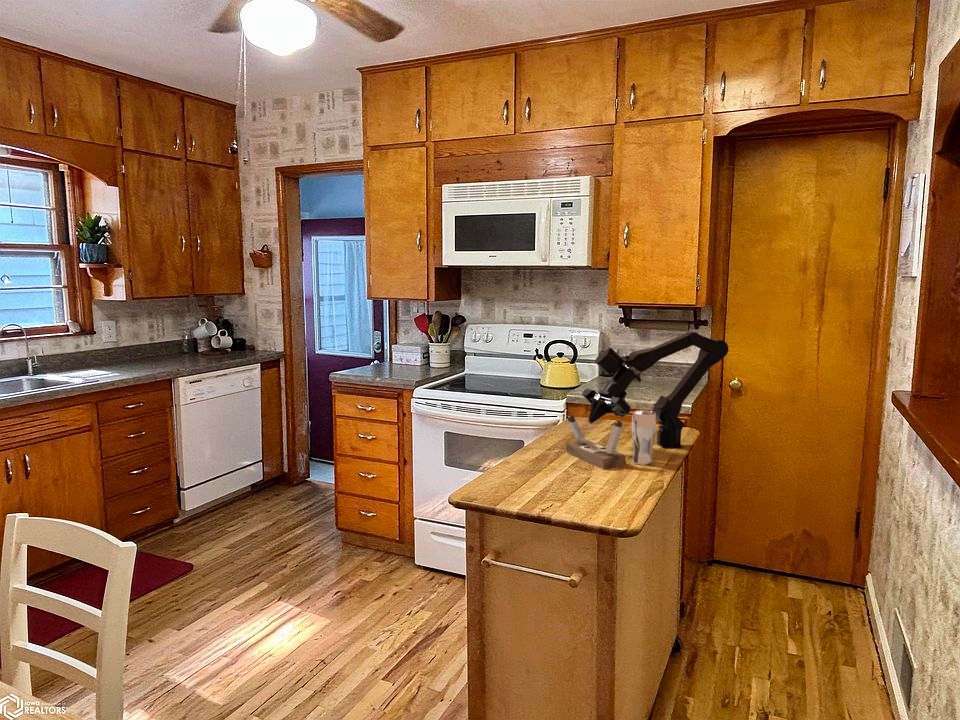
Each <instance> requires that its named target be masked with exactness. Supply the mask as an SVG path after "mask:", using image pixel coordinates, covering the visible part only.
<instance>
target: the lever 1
mask: <svg viewBox="0 0 960 720" xmlns="http://www.w3.org/2000/svg"><path fill="white" fill-rule="evenodd" d="M567 422H568V424H569V427H570V429H571V430H572V431H571V432H572V434H573V435H574V438H575V440H576V442H579V443H581V444H583V443H584V442H586V438H585V437H584V434H583V433H582V430H581V428H580V425H579V424H578V421H577V419H576V418H575V416H574V415H571V414H570V415H568V416H567Z"/></svg>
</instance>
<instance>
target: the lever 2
mask: <svg viewBox="0 0 960 720" xmlns="http://www.w3.org/2000/svg"><path fill="white" fill-rule="evenodd" d="M622 431H623V422H622V421H621V420H615V422H614V425H612V427H611V431H610V434H609V437H608V440H607V443H606V449H605V452H608V453H610V454H614V453H615V451H616V450H617V446H618V443H619V440H620V437H621V433H622Z"/></svg>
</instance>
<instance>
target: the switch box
mask: <svg viewBox="0 0 960 720" xmlns="http://www.w3.org/2000/svg"><path fill="white" fill-rule="evenodd" d="M585 441H586V442H584V443H583V444H581V443H579V442H577V441H572V442H566V447H565V453H566V452H567V454H568V453H569V454H568V455H570V454H571V455H570V456H572V457H575V456H576V457H575V458H577V457H578V458H577V459H579V458H580V459H579V460H582V461H584V462H586V463H589V464H590V465H593V466H595V467H598V468H600V469H602V470H606V469H610V468H611V469H612V468H619V467H625V466H626V465H627V464H626V463H627V462H626V461H627V460H626V459H627V455H626V454H624V453H622V452H621V453H620V452H618V451H616V450H615V453H614V454H610V453H608V452H605V449H606V447H605V446H603V445H601V444H598V443H596V442H593V441H591V440H589V439H588V440H586V439H585Z"/></svg>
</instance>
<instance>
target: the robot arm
mask: <svg viewBox="0 0 960 720" xmlns="http://www.w3.org/2000/svg"><path fill="white" fill-rule="evenodd" d="M692 346H694V347H696V348H699V351H698V355H697V358H696V360H695V362H694V363H693V365H691V367H690V368H689V369H688V371H687V372H686V373H685V375H683V377H682V378H681V380H680V381H679V383H677V385H676V386H675V387H674V389H673V390H672V391H671V393H670V394H669V395H667V396H664V395H662V394H661V395H660V396H659V398H658V399H657V401H656V402H655V403H654V404H653V405H652V406H653V408H652V411H653V412H655V413H656V422H657V423H658V424H659V426H658V430H656V435H657V436H656V444H657V445H659V446H660V447H661V448H663V449H675V448H676V449H677V448H683V447H684V446H683V445H682V444H681V443H682V441H681V439H682V430H683V428H684V425H685V423H684V422H683V421H682V420H681V419H680V418H679V415H680V413H681V410H682V407H683V404H684V402H685V401H686V399H687V398H688V397H689V395H690V394H691V393H692V391H693V390H694V389H695V387H696V386H697V385H698V383H699V382H700V381H701V380H702V379H703V377H704V376H705V375H706V374H707V372H708V371H709V369H710V368H712V367H713V366H714V365H716V364H718V363H720V362H721V361H722V360H723V359H724V358H725V357H726V356H727V355H728V353H729V346H728V343H727V341H724V340H722V339H717V338H714V337H713V338H711V337H710V338H709V337H706V336H703V334H702V335H701V334H699V333H698V332H696V331H690V330H689V331H687V332H685V333H684V334H682V335H680V336H677V337H675V338H673V339H670V340H668V341H665V342H663V343H661V344H658V345H656V346H654V347H650V348H641V349H638V350H634V351H631V352H630V353H629V355H623V356H621V355H619V354H618V353H616V351H615V349H613V348H612V347H608V348H607V349H604V351H603V352H601V353H600V354H599V355H598V356H597V357H595V360H594V363H595V364H596V365H597V366H598V367H599V368H600V369H601V370H603V372H605V374H606V375H610V374H611V375H613V376H612V378H611V379H610V380H609V379H606V381H605V384H606V385H605V386H604V388H603V389H599V390H598V392H597V391H596V390H595V389H590V388H585V389H584V390H583V391H582V393H581V395H582V396H583V397H584V398H585V400H587V402H589V404H590V411H589V417H588V423H590V424H594V422H596V421H597V420H599V419H601V418H602V417H604V416H605V415H607V414H614V416H616V417H617V416H618V417H620V418H624V417H625V416H628V415H629V414H630V413H631V411H632V410H631V409H632V408H631V405H630V404H629V403H628V402H627V401H626V399H625V398H626V397H627V394H628V393H627V389H629V387H630V385H631V384H632V382H634V383H641V382H642V378H641V374H640V373H636V372H635V371H634V370H636V371H638V372H645V371H647V370H649V369H650V368H652V367H653V366H654V365H656V364H657V363H658V362H659V361H660V360H662V359H665V358H667V357H669V356H671V355H674V354H676V353H679V352H681V351H683V350H685V349H688V348H690V347H692ZM628 367H629V368H628Z"/></svg>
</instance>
